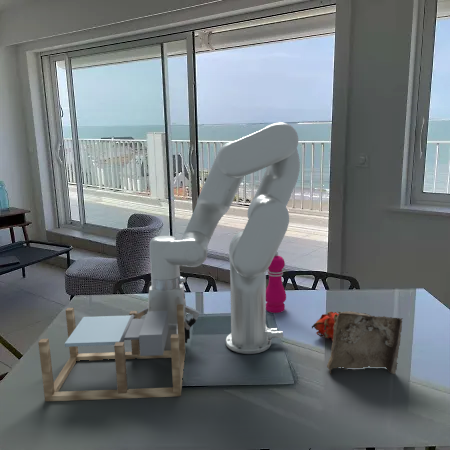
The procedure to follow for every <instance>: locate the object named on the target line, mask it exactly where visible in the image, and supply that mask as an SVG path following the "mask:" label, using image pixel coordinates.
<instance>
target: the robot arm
mask: <svg viewBox="0 0 450 450" xmlns="http://www.w3.org/2000/svg"><path fill="white" fill-rule="evenodd" d="M298 145H299V135H298V132H297V130H296V129H295V128H294V127H293V126H292V125H291V124H289V123H286V122H274V123H270V124H268V125H266V126H265V127H264V128H262V129H260V130H258V131H256V132H253V133H251V134H249V135H246V136H244V137H242V138H239V139H236V140H234V141H229V142H226V143H224V144H223V145H222V146H221V147H220V149H218V152H217V154H216V156H215V159H214V160H213V164H212V165H211V168H210V170H209V173H208V174H207V177H206V180H205V182H204V184H203V186H202V188H201V191H200V192H199V195H198V196H197V197H198V198H197V201H196V205H195V208H194V209H193V213H192V214H191V217H190V219H189V222H188V224H187V226H186V228H185V231H184V233H183V234H182V237H181V239H177V238H176V237H175V236H173V235H157V236H155V237H152V238H151V239H150V241H149V262H150V277H151V278H150V279H151V285H150V286H149V289H148V298H147V306H146V307H145V308H143V309H141V310H139V311H137V312H138V319H144V318H143V316H146V315H147V312H149V311H168V324H177V304H183V307H184V331H185V344H188V340H190V338H191V327H193V325H195V324H196V321H197V320H198V318H199V316H200V311H199V310H197V309H194V308H193V307H190V306H188V305H187V301H186V293H185V289H184V285H183V283H186V277H183V276H181V273H180V272H181V271H180V267H189V268H196V267H200V266H202V265H203V264H204V263H205V261H206V259H207V258H208V246H209V244H210V241H211V239H212V236H213V234H214V232H215V230H216V228H217V226H218V224H219V222H220V220H221V219H222V218H223V216H224V215H225V214H227V212H229V209H230V208H231V206H232V204H233V201H234V199H235V197H236V195H237V193H238V190H239V188H240V186H241V184H242V182H243V180H244V178H245V177H246V176H249V175H251V174H254V173H255V172H258V171H260V170H263V169H265V170H264V171H265V172H264V174H263V176H262V179H261V181H260V183H259V185H258V188H257V190H256V192H255V194H254V196H253V198H252V200H251V202H250V204H249V205H248V208H247V219H248V220H247V223H246V224H245V226H244V229H243V230H242V231H239V232H237V233H236V234H235V235H234V236H233V238H232V239H231V241H230V244H229V247H228V250H229V251H228V253H229V255H228V256H229V271H230V272H229V275H230V277H229V279H230V282H229V283H230V331H231V332H230V333H229V334H228V335H227V336H226V338H225V345H226V347H227V348H228V349H229V350H231V351H233V352H236V353H238V354H244V355H252V354H259V353H262V352H265V351H267V350H268V349H270V347H271V346H272V339H284V333H283V330H278V328H277V327H272V328H269V327H267V322H266V321H267V319H266V317H267V316H266V312H267V310H266V303H267V302H266V289H267V273H266V271H268V270H269V269H268V267H269V266H270V264H271V262H272V260H273V258H274V256H275V254H276V252H278V250H279V248H280V246H281V244H282V242H283V239H284V237H285V235H286V233H287V231H288V228H289V224H290V214H289V213H290V212H289V210H288V208H287V206H288V204H289V201H290V198H291V196H292V194H293V191H294V189H295V187H296V185H297V182H298V179H299V176H300V169H301V164H300V163H301V162H300V156H299V152H298ZM187 314H189V315H192V317H191V318H190V319H188V318H187Z"/></svg>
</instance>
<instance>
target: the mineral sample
mask: <svg viewBox="0 0 450 450" xmlns="http://www.w3.org/2000/svg"><path fill="white" fill-rule="evenodd" d="M340 312H341V313H340V314H339V313H338V314H339V315H338V316H337V318H336V323H335V326H334V333H333V342H332V343H331V351H330V356H329V359H328V362H327V364H326V368H328V370H329V374H330V375H332V370H333V369H338V368H337V367H341V368H342V367H344V368H363V367H368V366H370V367H386V368H387V369H388V370H389V371H388V370H387V371H388V373H390V374H393V375H396V371H398V368H397V367H398V364H399V363H398V359H399V350H400V346H401V336H402V334H401V333H402V328H403V319H404V318H401V317H400V318H399V317H389V316H385V315H383V316H375V315H370V313H369V314H368V313H364V312H357V311H353V310H352V311H351V310H350V311H349V310H348V311H340Z"/></svg>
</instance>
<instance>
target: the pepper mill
mask: <svg viewBox="0 0 450 450" xmlns="http://www.w3.org/2000/svg"><path fill="white" fill-rule="evenodd" d="M285 265H286V263H285V259H284V258H283V257H282V256H281V255H279V251H277V252H276V254H275V256H274V258H273V260H272V262H271V264H270V266H269V267H268V269H267V276H268V284H267V285H266V312H268V313H271V314H278V313H283V312H285V309H286V308H285V307H286V305H285V302H286V300H287V294H286V290H285V287H284V285H283V281H282V279H283V278H282V276H283V275H284V270H283V269H284V268H285Z"/></svg>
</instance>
